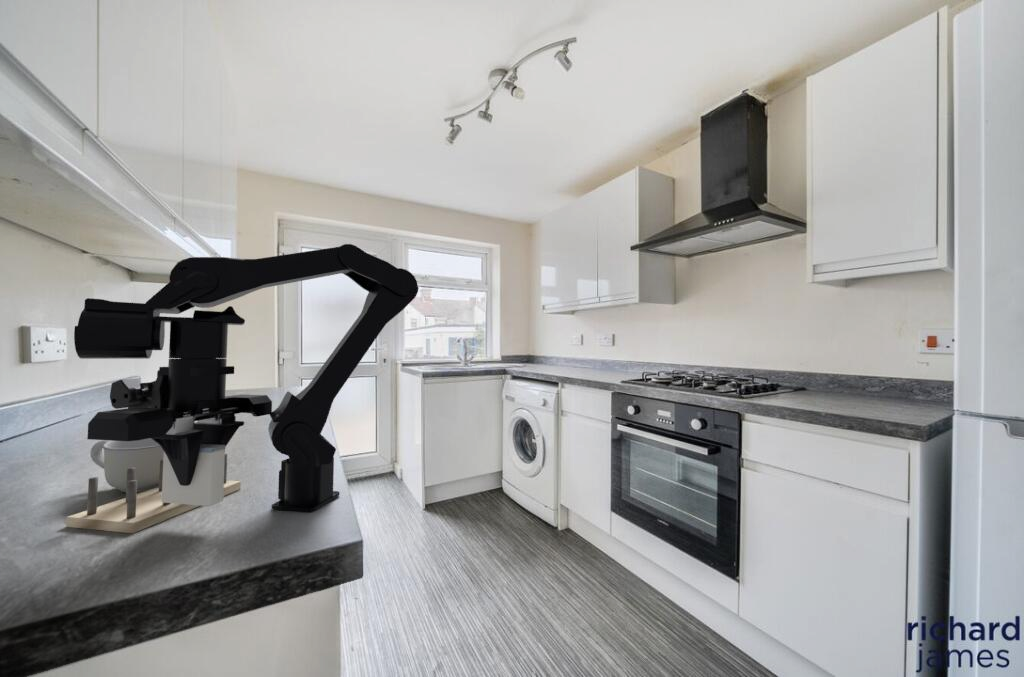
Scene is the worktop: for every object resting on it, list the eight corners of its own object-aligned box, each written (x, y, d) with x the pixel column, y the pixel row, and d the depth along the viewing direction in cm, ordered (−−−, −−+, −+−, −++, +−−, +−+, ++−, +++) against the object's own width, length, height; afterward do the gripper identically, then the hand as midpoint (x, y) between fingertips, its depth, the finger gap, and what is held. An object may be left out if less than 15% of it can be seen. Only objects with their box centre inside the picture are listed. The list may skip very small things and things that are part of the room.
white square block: (223, 500, 48) (225, 444, 48) (209, 506, 46) (211, 448, 47) (176, 496, 49) (178, 442, 50) (161, 502, 47) (163, 445, 48)
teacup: (210, 477, 66) (211, 430, 67) (143, 501, 55) (146, 445, 56) (138, 474, 68) (140, 428, 68) (60, 496, 57) (63, 443, 57)
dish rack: (240, 489, 60) (241, 452, 61) (133, 533, 46) (135, 485, 46) (187, 485, 62) (188, 450, 62) (66, 526, 47) (68, 480, 47)
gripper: (212, 357, 59) (208, 458, 58) (49, 359, 41) (40, 507, 40) (276, 358, 57) (272, 462, 57) (136, 360, 39) (128, 515, 38)
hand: (193, 482), depth 48 cm, fingers closed on white square block, 2 cm apart
